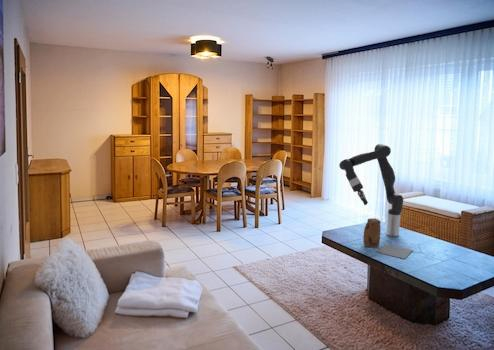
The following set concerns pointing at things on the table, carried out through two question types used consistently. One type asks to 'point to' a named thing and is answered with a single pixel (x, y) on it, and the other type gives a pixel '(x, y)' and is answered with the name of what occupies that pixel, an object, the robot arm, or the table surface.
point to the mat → (394, 251)
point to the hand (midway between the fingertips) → (366, 204)
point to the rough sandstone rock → (372, 233)
